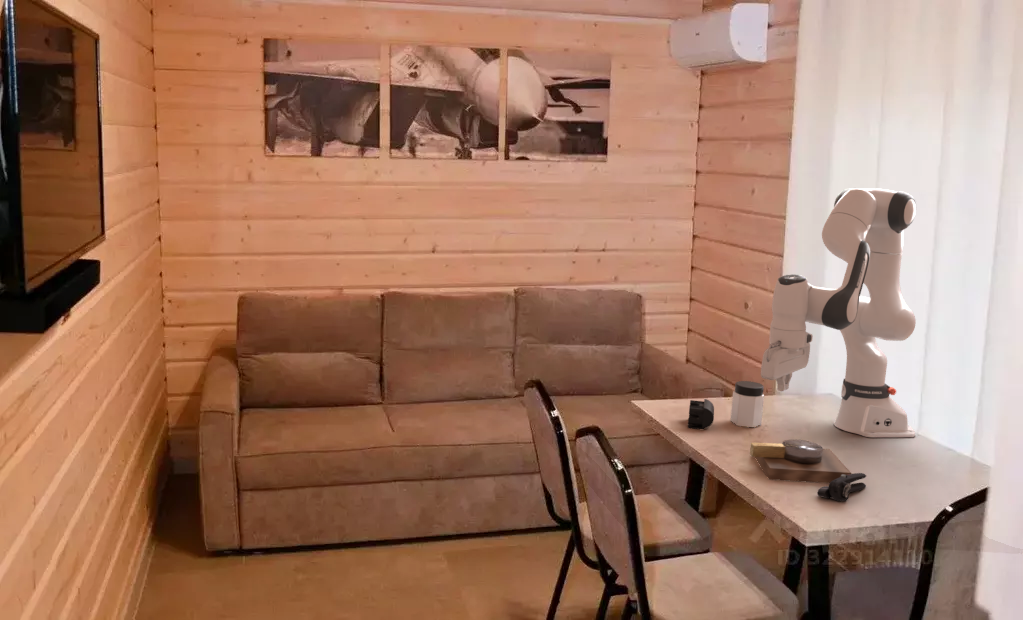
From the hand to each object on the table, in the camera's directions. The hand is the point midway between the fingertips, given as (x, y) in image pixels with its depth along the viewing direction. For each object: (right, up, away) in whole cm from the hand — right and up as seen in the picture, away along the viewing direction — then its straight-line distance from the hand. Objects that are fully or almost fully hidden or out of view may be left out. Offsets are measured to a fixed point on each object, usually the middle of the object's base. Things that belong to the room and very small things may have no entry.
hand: (782, 389), depth 246 cm
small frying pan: (0, -17, -4) cm, 17 cm away
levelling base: (+3, -20, -3) cm, 21 cm away
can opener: (+10, -24, -19) cm, 32 cm away
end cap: (-15, -13, +31) cm, 37 cm away
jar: (-1, -13, +34) cm, 37 cm away
